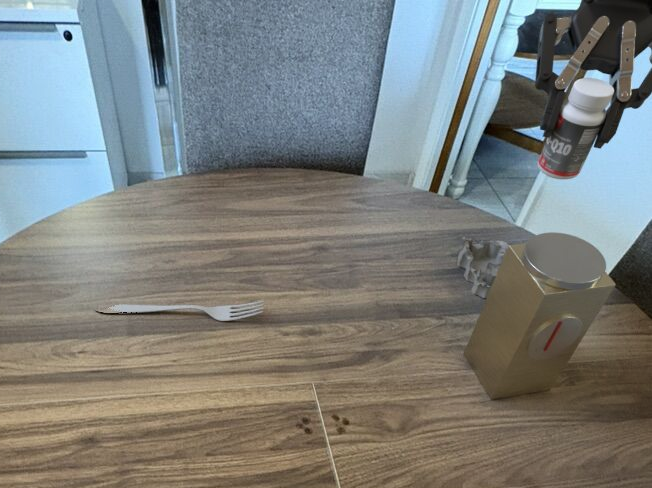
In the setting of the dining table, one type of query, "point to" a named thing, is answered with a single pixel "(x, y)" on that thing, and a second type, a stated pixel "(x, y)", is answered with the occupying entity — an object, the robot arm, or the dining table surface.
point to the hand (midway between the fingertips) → (573, 139)
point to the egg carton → (481, 263)
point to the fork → (216, 312)
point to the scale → (537, 313)
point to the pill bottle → (576, 129)
